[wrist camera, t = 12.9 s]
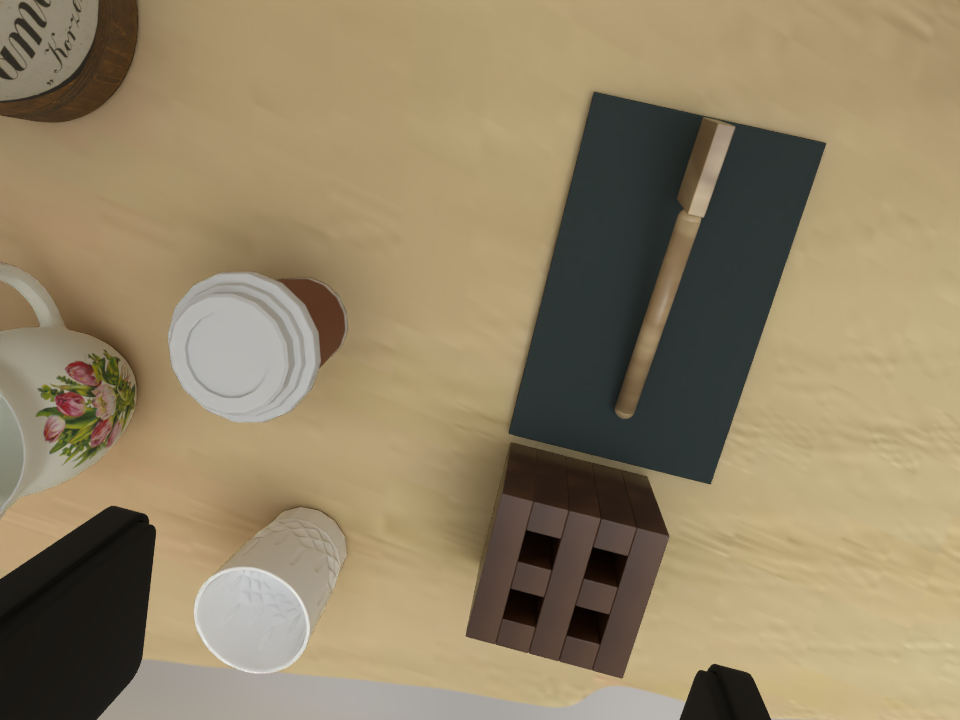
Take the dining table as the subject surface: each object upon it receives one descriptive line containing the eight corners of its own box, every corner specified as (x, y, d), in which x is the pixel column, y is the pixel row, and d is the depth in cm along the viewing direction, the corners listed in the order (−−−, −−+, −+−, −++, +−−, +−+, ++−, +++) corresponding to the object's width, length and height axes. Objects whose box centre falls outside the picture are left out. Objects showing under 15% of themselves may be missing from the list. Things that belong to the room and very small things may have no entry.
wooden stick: (628, 397, 49) (722, 121, 40) (633, 430, 44) (739, 127, 36) (610, 392, 49) (699, 116, 40) (613, 425, 44) (714, 121, 36)
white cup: (373, 536, 51) (331, 613, 41) (322, 606, 53) (272, 695, 43) (290, 480, 51) (228, 544, 41) (242, 553, 53) (173, 630, 43)
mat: (822, 144, 41) (826, 143, 41) (708, 481, 47) (710, 484, 47) (593, 93, 42) (594, 91, 42) (508, 431, 48) (508, 434, 47)
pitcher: (132, 247, 48) (-29, 260, 34) (183, 474, 52) (55, 565, 38) (0, 263, 49) (-205, 281, 36) (58, 483, 53) (-107, 573, 40)
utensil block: (647, 476, 47) (669, 536, 39) (609, 597, 50) (622, 679, 41) (510, 442, 48) (501, 493, 39) (479, 563, 51) (465, 636, 42)
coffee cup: (348, 246, 46) (279, 258, 34) (379, 368, 48) (324, 418, 36) (231, 273, 47) (127, 292, 36) (266, 390, 49) (178, 446, 38)
